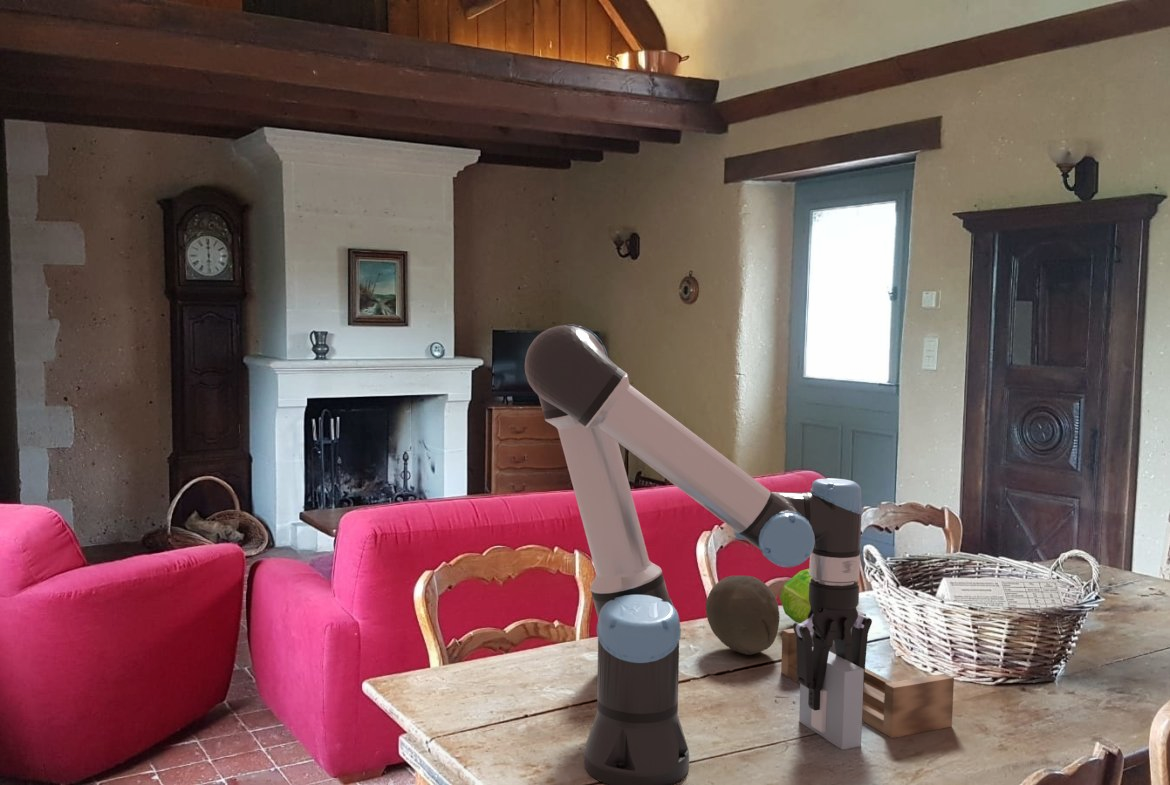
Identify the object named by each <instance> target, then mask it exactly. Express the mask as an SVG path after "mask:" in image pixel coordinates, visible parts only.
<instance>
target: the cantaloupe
mask: <svg viewBox="0 0 1170 785" xmlns="http://www.w3.org/2000/svg"><path fill="white" fill-rule="evenodd" d="M779 608H780V607H779V605H778V601H777V598H776V596H775V593H774V592H773V590H772V589H771V588H770V587H769V586H768V585H767V584H766V583H765V582H763V581H762V580H761V579H759V578H757V577H755V576H752V575H729V576H726V577H724V578H721V579H720V580H719V581H717V583H716V584H714V585H713V586H712V588H711V589H710V591H709V593H708V596H707V598H706V602H705V612H706V613H705V614H706V618H707V621H708V625H709V627H710V629H711V631H712V632H713V634H714V635H715V636H716V637H717V639H718V640H719V641H720V642H721V643H722V644H723V645H725V646H726V647H727V648H729V649H731V650H732V651H735V652H737V653H739V654H742V655H748V656H752V655H754V654H758V653H760V652H763V651H765V650H767V649H769V648H770V647H771V646H772V645H773V644H774V642H775V640H776V638H777V635H778V630H779V625H780V610H779Z"/></svg>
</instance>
